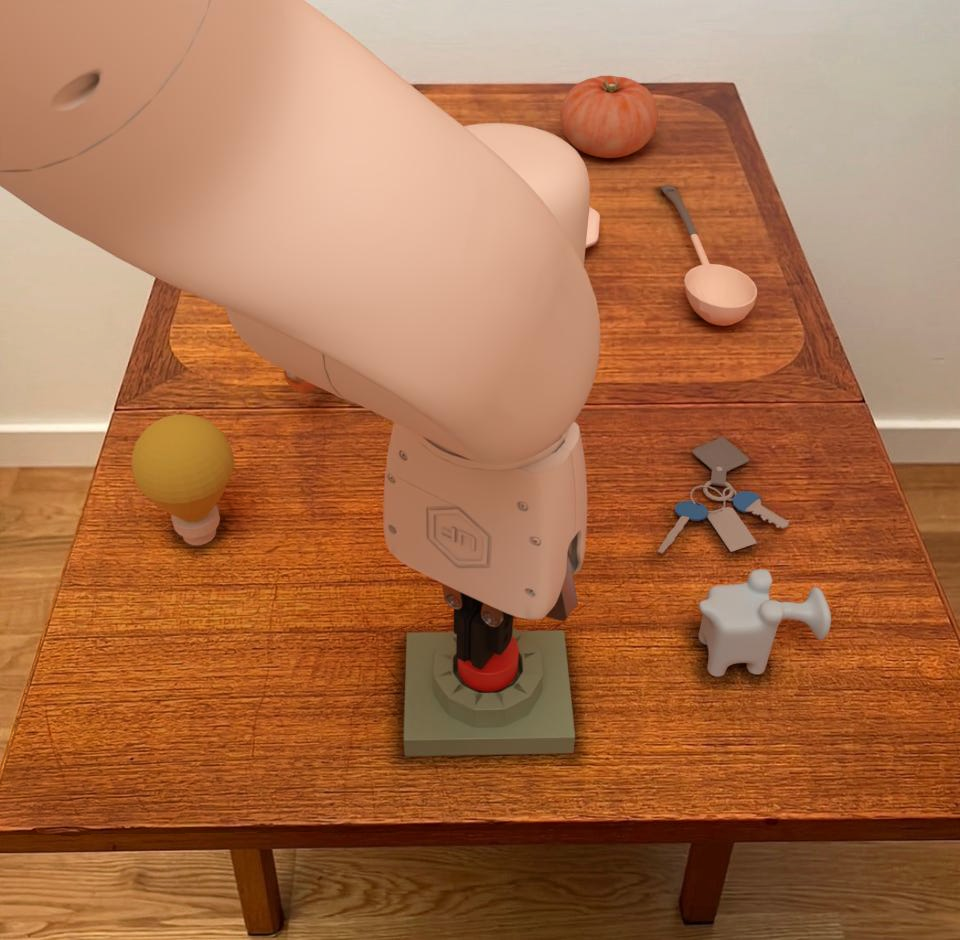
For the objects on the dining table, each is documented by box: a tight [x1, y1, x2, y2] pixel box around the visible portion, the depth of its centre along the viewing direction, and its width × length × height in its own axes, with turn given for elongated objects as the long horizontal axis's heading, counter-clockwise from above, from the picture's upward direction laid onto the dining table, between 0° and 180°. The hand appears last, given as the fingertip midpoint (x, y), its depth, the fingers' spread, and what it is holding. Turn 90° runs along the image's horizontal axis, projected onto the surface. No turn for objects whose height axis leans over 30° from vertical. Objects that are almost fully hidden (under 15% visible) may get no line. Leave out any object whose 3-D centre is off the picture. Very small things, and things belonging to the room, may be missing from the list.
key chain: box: [657, 436, 790, 555], centre depth 80 cm, size 14×8×1 cm, turn 159°
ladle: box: [660, 184, 758, 327], centre depth 105 cm, size 6×28×5 cm, turn 3°
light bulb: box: [130, 413, 235, 546], centre depth 75 cm, size 7×7×10 cm
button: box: [458, 636, 519, 692], centre depth 65 cm, size 4×4×2 cm
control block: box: [402, 627, 576, 757], centre depth 66 cm, size 10×8×4 cm
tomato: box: [559, 75, 659, 159], centre depth 120 cm, size 11×11×8 cm
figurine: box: [698, 568, 832, 678], centre depth 68 cm, size 4×8×6 cm, turn 94°
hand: (482, 647), depth 63 cm, fingers closed
